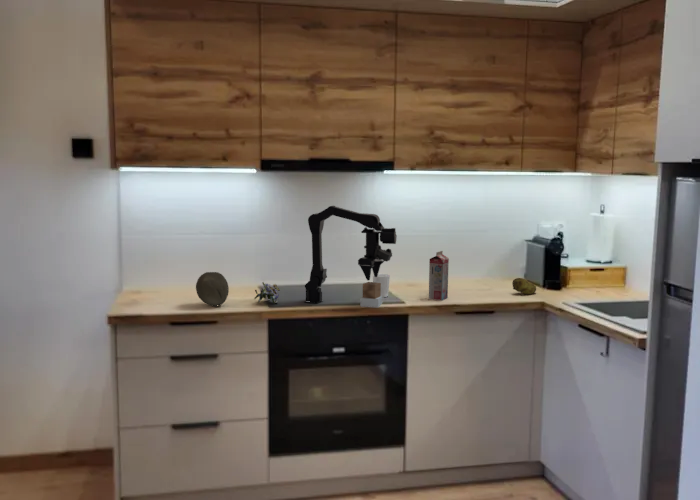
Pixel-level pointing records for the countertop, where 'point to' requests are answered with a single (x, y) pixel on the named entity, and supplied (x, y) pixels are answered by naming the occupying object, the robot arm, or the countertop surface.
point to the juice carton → (438, 277)
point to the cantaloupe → (212, 288)
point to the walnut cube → (371, 290)
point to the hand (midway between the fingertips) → (372, 278)
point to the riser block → (371, 302)
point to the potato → (523, 286)
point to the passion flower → (268, 293)
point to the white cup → (383, 283)
